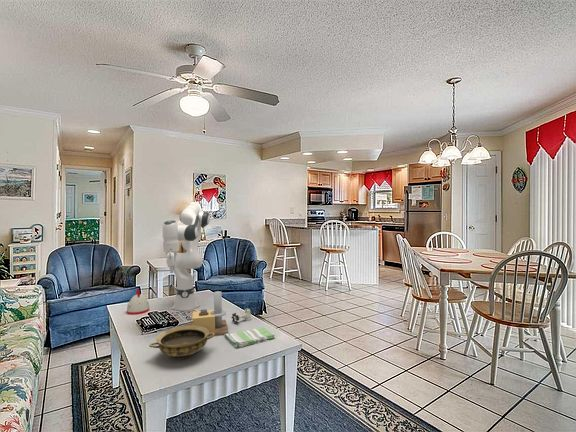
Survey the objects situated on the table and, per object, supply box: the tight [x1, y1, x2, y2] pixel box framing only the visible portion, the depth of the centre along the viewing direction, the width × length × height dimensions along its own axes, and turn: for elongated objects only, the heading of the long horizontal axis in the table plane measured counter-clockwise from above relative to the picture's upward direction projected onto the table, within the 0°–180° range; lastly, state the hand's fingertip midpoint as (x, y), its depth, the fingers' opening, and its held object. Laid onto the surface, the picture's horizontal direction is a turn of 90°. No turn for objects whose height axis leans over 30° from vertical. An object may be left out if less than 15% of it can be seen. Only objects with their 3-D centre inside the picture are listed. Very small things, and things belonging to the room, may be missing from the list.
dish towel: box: [223, 326, 276, 349], centre depth 169 cm, size 17×23×4 cm
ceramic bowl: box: [148, 325, 215, 359], centre depth 150 cm, size 30×24×10 cm
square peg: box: [200, 308, 208, 316], centre depth 179 cm, size 4×4×10 cm
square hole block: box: [192, 290, 227, 331], centre depth 180 cm, size 12×18×20 cm, turn 106°
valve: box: [231, 308, 252, 325], centre depth 193 cm, size 7×7×12 cm
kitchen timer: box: [126, 289, 150, 316], centre depth 214 cm, size 14×14×15 cm
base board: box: [185, 319, 229, 338], centre depth 180 cm, size 20×23×2 cm
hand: (172, 271), depth 185 cm, fingers open, 8 cm apart
